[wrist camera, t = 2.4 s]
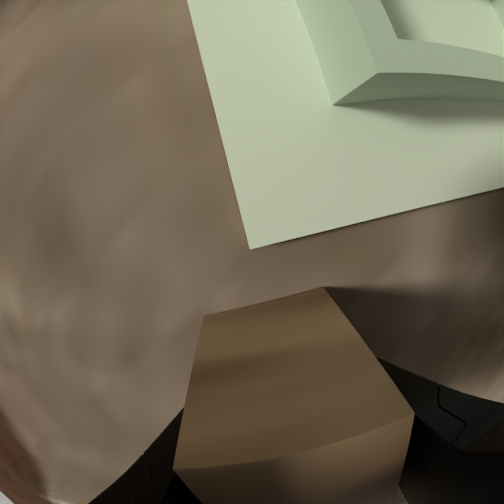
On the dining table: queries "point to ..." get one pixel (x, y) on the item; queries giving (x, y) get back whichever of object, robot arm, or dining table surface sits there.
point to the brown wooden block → (290, 410)
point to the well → (353, 106)
